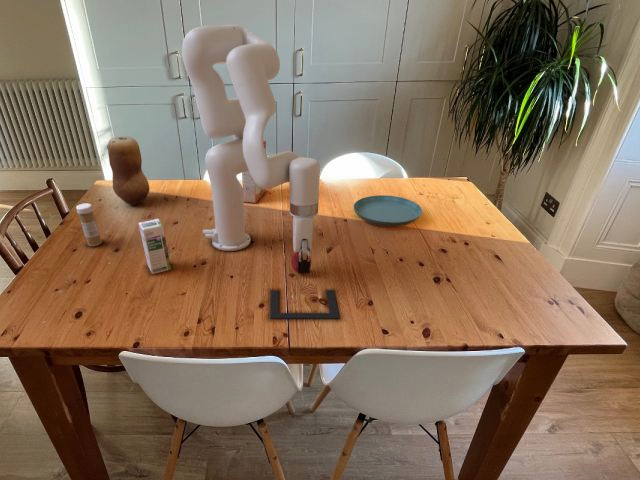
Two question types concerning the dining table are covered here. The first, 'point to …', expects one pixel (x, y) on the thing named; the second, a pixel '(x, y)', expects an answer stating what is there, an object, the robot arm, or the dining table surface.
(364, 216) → the saucer
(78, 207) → the sprinkles bottle
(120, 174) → the butternut squash
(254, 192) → the cracker box
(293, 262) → the onion
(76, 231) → the dining table surface
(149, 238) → the syrup box
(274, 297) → the bay
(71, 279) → the dining table surface
